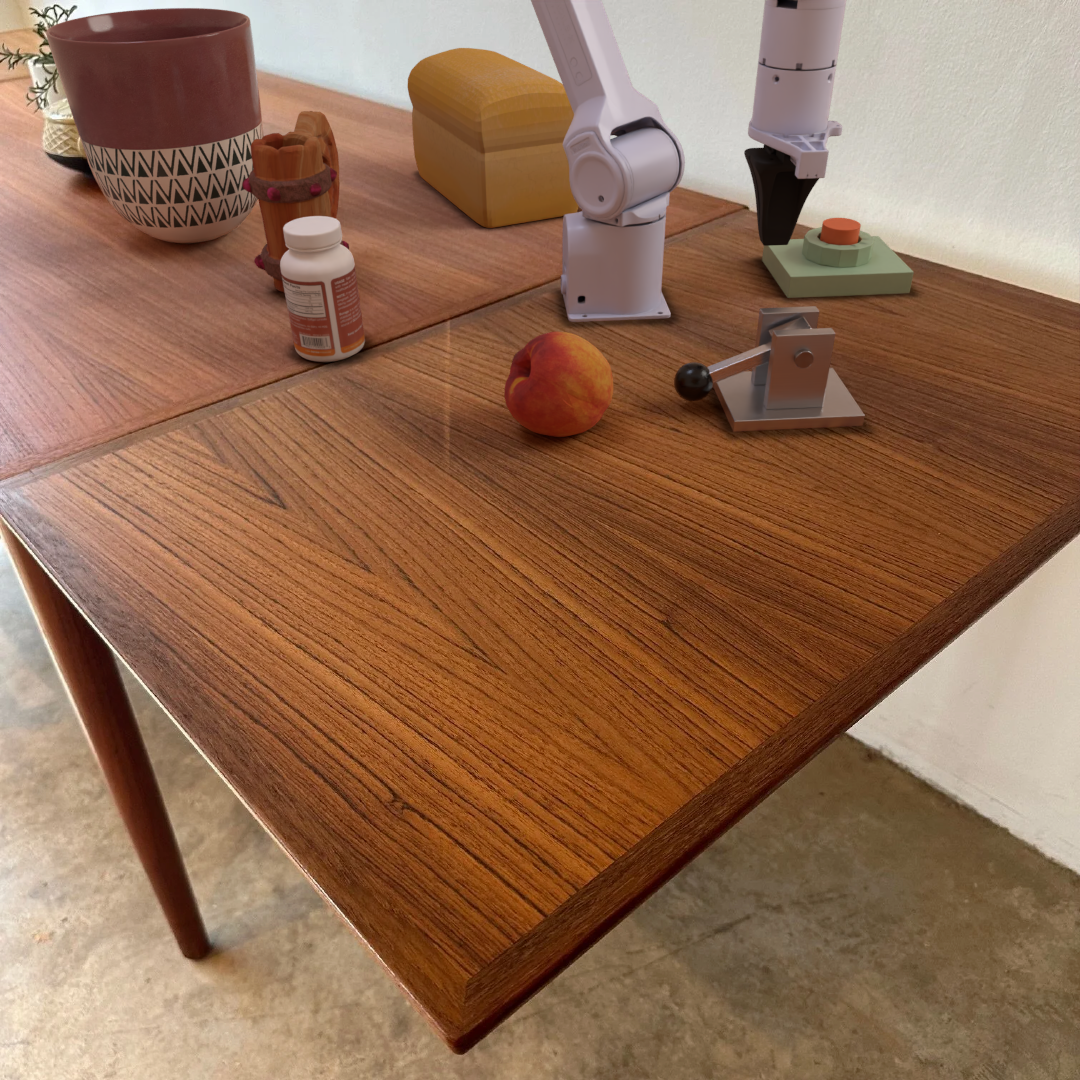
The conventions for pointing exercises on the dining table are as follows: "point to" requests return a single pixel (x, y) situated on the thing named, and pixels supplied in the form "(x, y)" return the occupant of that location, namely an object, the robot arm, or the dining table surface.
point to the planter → (165, 114)
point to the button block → (837, 267)
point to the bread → (492, 136)
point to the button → (840, 231)
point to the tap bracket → (789, 380)
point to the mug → (293, 183)
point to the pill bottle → (321, 290)
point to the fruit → (558, 385)
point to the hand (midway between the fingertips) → (773, 242)
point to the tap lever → (725, 367)
